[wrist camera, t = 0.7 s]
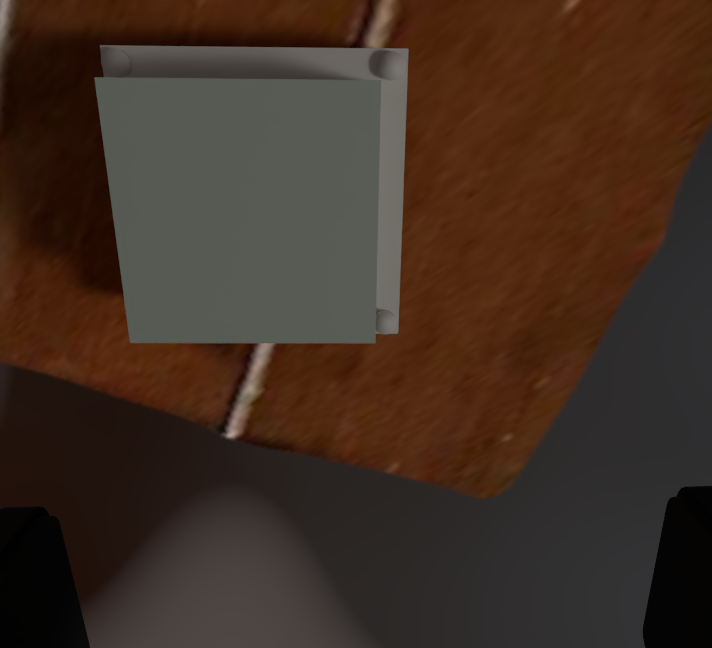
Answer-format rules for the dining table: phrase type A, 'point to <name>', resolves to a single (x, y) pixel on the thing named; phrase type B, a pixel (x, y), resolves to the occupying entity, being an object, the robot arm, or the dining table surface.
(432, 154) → the dining table surface
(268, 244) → the grey stacking block
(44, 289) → the dining table surface
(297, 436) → the dining table surface
